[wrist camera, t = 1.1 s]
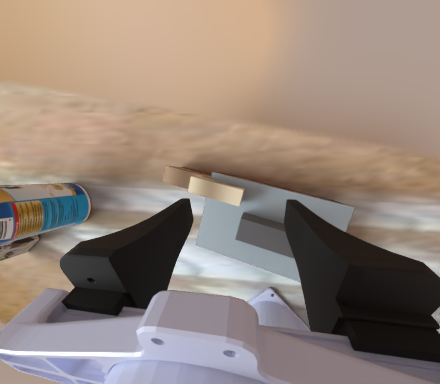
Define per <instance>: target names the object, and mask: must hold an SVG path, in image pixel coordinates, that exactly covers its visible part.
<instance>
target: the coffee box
mask: <svg viewBox="0 0 440 384" xmlns="http://www.w3.org/2000/svg"><path fill="white" fill-rule="evenodd" d="M38 240H39V237H38V235H34V236H30V237H27V238H23V239H19V240H16V241H13V242H12V243H10V244H7V245H4V246H0V261H1V260H4V259H7V258H11V257H14V256H17V255H20V254H23V253H26V252H27V251H28V250H29V249H30V248H31V247H32V246H33V245H34V244H35V243H36V242H37V241H38Z"/></svg>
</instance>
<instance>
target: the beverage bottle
mask: <svg viewBox="0 0 440 384" xmlns="http://www.w3.org/2000/svg"><path fill="white" fill-rule="evenodd" d="M90 210H91V202H90V198H89V196H88V194H87V192H86V191H85V189H84V188H83V187H81V186H80V185H78V184H75V183H57V184H31V185H1V186H0V246H4V245H7V244H10V243H12V242H13V241H16V240H19V239H23V238H27V237H30V236H34V235H38V234H41V233H45V232H49V231H52V230H56V229H60V228H64V227H68V226H73V225H77V224H80V223H82V222H84V221H85V220H86V219H87V218H88V216H89V214H90Z"/></svg>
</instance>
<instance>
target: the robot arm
mask: <svg viewBox="0 0 440 384" xmlns="http://www.w3.org/2000/svg"><path fill="white" fill-rule="evenodd" d="M192 224H193V214H192V209H191V204H190V199H180V200H178V201H177V202H175V203H174V204H172V205H170V206H169V207H167V208H166V209H164V210H162V211H161V212H159V213H157V214H156V215H154V216H152V217H150V218H149V219H147V220H145V221H142V222H140V223H138V224H136V225H134V226H131V227H129V228H126V229H124V230H121V231H118V232H115V233H112V234H109V235H105V236H102V237H98V238H94V239H90V240H87V241H82V242H80V243H79V244H77V245H76V246H75V247H74V248H73V249H71V250H70V251H69V252H68V253H66V254H65V255H64V256H63V257H62V258H61V259H60V267H61V269H62V271H63V272H64V274H65V275H66V276H67V278H68V279H69V280H70V281H71V283H72V284H73V285H74V286H75V288H74V289H73V290H72V291H71V292H70V293H69V292H67V291H65V290H60V289H52V288H47V289H45V290H44V291H43V292H42V293H41V294H40V295H38V296H37V297H36V298H35V299H34V300H33V301H32V302H31V303H30V304H29V305H27V306H26V307H25V308H24V309H23V310H22V311H21V312H20V313H19V314H18V315H16V316H15V317H14V318H13V319H12V320H11V321H10V322H9V323H8V324H7V325H5V326H4V327H3V328H2V329H1V330H0V360H1V361H3V362H5V363H6V364H8V365H10V366H12V367H13V368H15V369H17V370H18V371H20V372H23V373H27V374H31V375H35V376H39V377H42V378H46V379H49V380H53V381H56V382H59V383H62V384H440V334H439V333H438V331H437V330H436V329H439V328H440V326H439V324H438V323H437V322H436V320H435V319H434V318H433V317H432V316H431V315H432V314H433V313H434V312H435V311H436V310H437V309H438V308H439V306H440V277H439V276H437V275H436V274H435V273H434V272H433V271H432V270H431V269H430V268H429V267H428V266H426V265H425V264H424V263H423V262H420V261H417V260H414V259H411V258H408V257H405V256H402V255H399V254H396V253H393V252H390V251H387V250H385V249H382V248H380V247H377V246H375V245H372V244H370V243H367V242H365V241H363V240H361V239H358V238H356V237H354V236H352V235H350V234H348V233H346V232H344V231H342V230H340V229H339V228H337V227H335V226H333V225H332V224H330V223H328V222H327V221H325V220H324V219H322V218H321V217H319V216H318V215H316V214H315V213H314V212H312V211H311V210H310V209H308V208H307V207H306V206H304V205H303V204H302V203H300V202H299V201H298V200H296V199H287V201H286V209H285V217H284V227H285V232H286V236H287V239H288V242H289V245H290V247H291V250H292V253H293V256H294V259H295V262H296V265H297V268H298V272H299V277H300V281H301V285H302V290H303V294H304V299H305V304H306V309H307V314H308V320H309V325H310V329H309V328H308V327H307V326H306V325H305V323H304V322H303V321H302V320H301V319H300V318H299V317H298V316H297V315H296V314H295V313H294V312H293V311H292V310H291V308H290V307H289V306H288V305H287V304H286V303H285V302H284V301H283V300H282V299H281V298H280V297H279V296H278V295H277V293H276V292H275V291H274V290H273V289H272V288H268V289H266V290H265V291H264V292H262V293H261V294H260V295H258V296H257V297H255V298H254V299H253V300H251V301H250V302H249V303H247V302H246V301H244V300H242V299H239V298H235V297H231V296H223V295H213V294H204V293H195V292H186V291H176V290H167V289H168V285H169V282H170V279H171V276H172V273H173V270H174V267H175V264H176V261H177V258H178V256H179V254H180V252H181V250H182V247H183V245H184V243H185V241H186V239H187V237H188V235H189V232H190V230H191V227H192ZM271 294H274V295H271Z"/></svg>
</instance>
